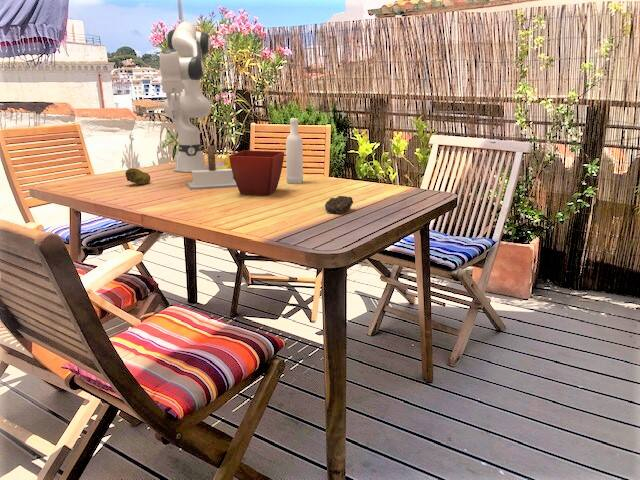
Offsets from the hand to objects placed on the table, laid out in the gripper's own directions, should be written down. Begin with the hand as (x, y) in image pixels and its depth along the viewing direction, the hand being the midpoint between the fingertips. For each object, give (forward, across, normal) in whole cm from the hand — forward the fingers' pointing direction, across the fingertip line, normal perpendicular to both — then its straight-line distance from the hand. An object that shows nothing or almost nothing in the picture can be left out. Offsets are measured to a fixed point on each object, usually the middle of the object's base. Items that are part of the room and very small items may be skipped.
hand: (176, 120), depth 238 cm
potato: (+29, +6, +19) cm, 35 cm away
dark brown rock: (+30, -76, -48) cm, 94 cm away
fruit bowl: (+31, +13, -28) cm, 44 cm away
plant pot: (+30, -32, -29) cm, 52 cm away
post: (+23, -8, -13) cm, 27 cm away
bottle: (+31, -14, -50) cm, 61 cm away
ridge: (+30, -9, -13) cm, 34 cm away
